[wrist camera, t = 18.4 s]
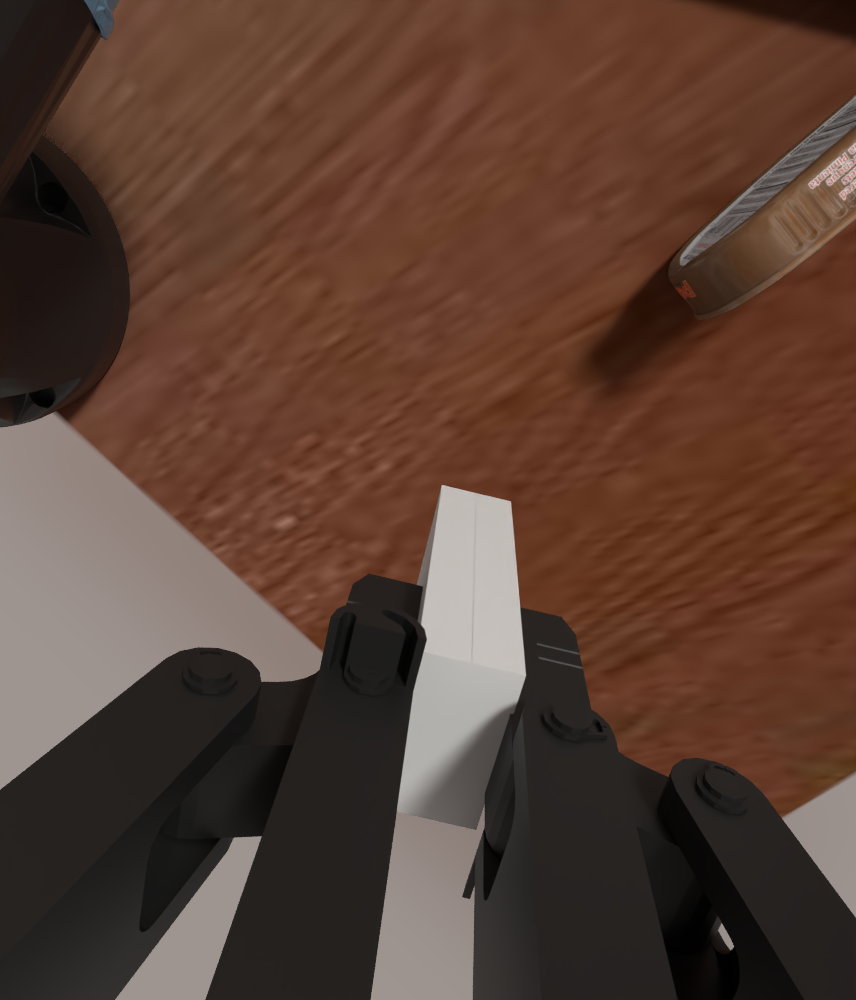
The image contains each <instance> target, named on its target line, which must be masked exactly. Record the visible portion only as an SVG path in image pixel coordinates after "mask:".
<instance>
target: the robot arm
mask: <svg viewBox="0 0 856 1000" xmlns="http://www.w3.org/2000/svg"><path fill="white" fill-rule="evenodd" d="M118 1H119V0H0V427H8V426H13V425H19V424H23V423H27V422H31V421H34V420H36V419H39V418H42V417H44V416H46V415H48V414H51V413H53V412H55V411H57V410H59V409H61V408H63V407H65V406H67V405H69V404H71V403H72V402H74V401H76V400H77V399H79V398H80V397H82V396H83V395H84V394H86V393H87V392H88V391H89V390H90V389H91V388H92V387H93V386H94V385H96V384H97V382H98V381H99V380H100V379H101V378H102V377H103V375H104V374H105V373H106V371H107V370H108V368H109V367H110V365H111V364H112V362H113V360H114V359H115V356H116V354H117V352H118V350H119V348H120V345H121V343H122V340H123V336H124V333H125V330H126V325H127V320H128V313H129V300H130V287H129V275H128V268H127V262H126V258H125V253H124V249H123V246H122V243H121V239H120V236H119V234H118V231H117V228H116V226H115V224H114V221H113V219H112V217H111V215H110V213H109V211H108V209H107V207H106V205H105V203H104V202H103V200H102V198H101V197H100V195H99V194H98V192H97V191H96V189H95V188H94V186H93V185H92V183H91V182H90V181H89V179H88V178H87V177H86V176H85V174H84V173H83V172H82V171H81V170H80V169H79V167H78V166H77V165H76V164H75V163H74V162H73V161H72V160H71V159H70V158H69V157H68V156H67V155H66V154H65V153H64V152H63V151H61V150H60V149H59V148H58V147H57V146H56V145H54V144H53V143H52V142H50V141H49V140H48V139H46V138H45V137H44V136H42V134H43V132H44V131H45V129H46V127H47V126H48V124H49V122H50V121H51V119H52V117H53V116H54V114H55V112H56V111H57V109H58V107H59V106H60V104H61V102H62V101H63V99H64V98H65V96H66V94H67V93H68V91H69V89H70V88H71V86H72V84H73V83H74V81H75V79H76V78H77V76H78V74H79V73H80V71H81V69H82V68H83V66H84V64H85V63H86V61H87V59H88V58H89V56H90V54H91V53H92V51H93V49H94V48H95V46H96V44H97V43H98V41H99V39H100V38H101V37H102V38H104V39H105V40H107V38H108V37H109V35H110V34H111V32H112V30H113V24H114V20H113V16H112V13H113V11H114V9H115V7H116V5H117V3H118ZM581 668H582V663H581V658H580V655H579V649H578V644H577V639H576V635H575V633H574V632H573V631H572V630H571V628H570V627H569V626H568V625H567V624H566V622H565V621H564V620H563V619H562V617H559V616H555V615H550V614H546V613H542V612H538V611H533V610H529V609H525V608H521V607H520V601H519V590H518V578H517V567H516V555H515V544H514V532H513V521H512V509H511V501H506V500H502V499H498V498H494V497H490V496H485V495H481V494H477V493H473V492H469V491H465V490H460V489H456V488H452V487H448V486H444V485H442V487H441V491H440V495H439V499H438V503H437V507H436V511H435V515H434V519H433V523H432V527H431V531H430V535H429V539H428V543H427V546H426V550H425V554H424V558H423V562H422V566H421V570H420V574H419V578H418V582H417V585H415V584H410V583H406V582H402V581H398V580H393V579H389V578H385V577H381V576H377V575H372V574H368V575H366V576H365V577H363V578H362V579H360V580H359V581H357V582H356V583H354V584H353V586H352V589H351V592H350V595H349V598H348V601H347V604H346V606H343V607H341V608H338V609H337V610H336V611H335V613H334V614H333V615H332V616H331V619H330V623H329V628H328V633H327V638H326V642H325V647H324V652H323V657H322V661H321V666H320V670H319V671H318V672H317V673H315V674H313V675H311V676H309V677H307V678H304V679H300V680H295V681H289V682H261V678H260V672H259V670H258V669H257V668H256V667H255V666H254V665H253V663H252V662H251V661H250V660H248V659H246V658H244V657H242V656H241V655H239V654H237V653H235V652H231V651H227V650H223V649H219V648H193V649H189V650H183V651H179V652H178V653H176V654H174V655H172V656H170V657H168V658H166V659H165V660H163V661H162V662H161V663H160V664H158V665H157V666H156V667H155V668H153V669H152V670H151V671H150V672H148V673H147V674H146V675H144V676H143V677H142V678H141V679H139V680H138V681H137V682H136V683H134V684H133V685H132V686H131V687H129V688H128V689H127V690H126V691H124V692H123V693H122V694H120V695H119V696H118V697H117V698H116V699H114V700H113V701H112V702H110V703H109V704H108V705H107V706H106V707H104V708H103V709H102V710H100V711H99V712H98V713H97V714H95V715H94V716H93V717H91V718H90V719H89V720H88V721H87V722H85V723H84V724H83V725H81V726H80V727H79V728H78V729H76V730H75V731H74V732H73V733H71V734H70V735H69V736H68V737H66V738H65V739H64V740H63V741H61V742H60V743H59V744H58V745H56V746H55V747H54V748H53V749H51V750H50V751H49V752H47V753H46V754H45V755H44V756H42V757H41V758H40V759H39V760H37V761H36V762H35V763H33V764H32V765H31V766H30V767H28V768H27V769H26V770H25V771H23V772H22V773H21V774H20V775H18V776H17V777H16V778H15V779H13V780H12V781H11V782H10V783H8V784H7V785H6V786H4V787H3V788H2V789H1V790H0V1000H115V999H116V998H117V996H118V995H119V993H120V992H121V991H122V990H123V988H124V987H125V986H126V984H127V983H128V982H129V980H130V979H131V978H132V976H133V975H134V974H135V972H136V971H137V970H138V968H139V967H140V966H141V965H142V963H143V962H144V961H145V959H146V958H147V957H148V955H149V954H150V953H151V951H152V950H153V949H154V947H155V946H156V945H157V943H158V942H159V941H160V939H161V938H162V937H163V935H164V934H165V933H166V932H167V930H168V929H169V928H170V926H171V925H172V923H173V922H174V921H175V920H176V918H177V917H178V916H179V914H180V913H181V912H182V910H183V909H184V908H185V906H186V905H187V904H188V902H189V901H190V900H191V898H192V897H193V896H194V894H195V893H196V892H197V891H198V889H199V888H200V887H201V885H202V884H203V883H204V881H205V880H206V879H207V877H208V876H209V875H210V873H211V871H213V869H214V868H215V867H216V865H217V864H218V863H219V861H220V860H221V859H222V857H223V856H224V855H225V853H226V852H227V851H228V849H229V847H230V844H231V842H232V840H233V838H234V837H252V836H262V838H261V841H260V843H259V846H258V849H257V852H256V855H255V858H254V861H253V864H252V867H251V870H250V872H249V875H248V878H247V881H246V884H245V887H244V890H243V893H242V896H241V898H240V901H239V904H238V907H237V910H236V913H235V916H234V919H233V922H232V925H231V927H230V930H229V933H228V936H227V939H226V942H225V945H224V948H223V951H222V954H221V956H220V959H219V962H218V965H217V968H216V971H215V974H214V977H213V979H212V982H211V985H210V988H209V991H208V994H207V997H206V1000H370V999H371V992H372V985H373V978H374V970H375V963H376V956H377V948H378V942H379V934H380V927H381V920H382V913H383V906H384V899H385V892H386V884H387V877H388V870H389V863H390V855H391V849H392V842H393V834H394V827H395V820H396V813H397V812H401V813H405V814H410V815H414V816H418V817H423V818H428V819H432V820H436V821H440V822H445V823H449V824H453V825H457V826H462V827H466V828H470V829H475V830H476V829H477V826H478V823H479V819H480V816H481V813H482V810H483V807H484V804H485V828H484V831H483V834H482V837H481V840H480V843H479V846H478V849H477V852H476V855H475V858H474V861H473V864H472V867H471V870H470V873H469V876H468V880H467V883H466V886H465V889H464V893H463V896H462V897H464V898H468V899H470V897H471V894H472V891H473V888H474V886H475V905H474V907H475V908H474V962H473V963H474V964H473V965H474V966H473V1000H856V918H855V916H854V915H853V914H852V912H851V911H850V910H849V908H848V907H847V905H846V904H845V903H844V901H843V900H842V899H841V898H840V896H839V895H838V893H837V892H836V891H835V889H834V888H833V887H832V885H831V884H830V883H829V881H828V880H827V879H826V877H825V876H824V875H823V873H822V872H821V871H820V869H819V868H818V866H817V865H816V864H815V863H814V861H813V860H812V858H811V857H810V856H809V854H808V853H807V852H806V850H805V849H804V848H803V846H802V845H801V844H800V842H799V841H798V840H797V838H796V837H795V836H794V834H793V833H792V832H791V830H790V829H789V828H788V826H787V825H786V824H785V822H784V821H783V819H782V818H781V817H780V815H779V814H778V813H777V811H776V810H775V809H774V807H773V806H772V805H771V803H770V802H769V801H768V799H767V798H766V797H765V795H764V794H763V793H762V792H761V791H760V790H759V789H758V788H757V787H756V786H755V785H754V784H753V783H752V782H751V781H749V780H748V779H746V778H745V777H744V776H742V775H741V774H739V773H738V772H737V771H735V770H734V769H732V768H730V767H728V766H724V765H723V764H720V763H717V762H714V761H709V760H705V759H700V758H692V759H683V760H681V761H680V762H678V763H677V764H675V765H674V766H673V768H672V770H671V773H670V775H669V777H667V776H665V775H663V774H660V773H658V772H656V771H654V770H651V769H649V768H647V767H645V766H643V765H640V764H638V763H637V762H635V761H633V760H631V759H629V758H627V757H625V756H624V755H623V754H621V753H620V752H618V747H617V743H616V739H615V736H614V734H613V732H612V730H611V728H610V726H609V724H608V723H607V722H606V721H605V720H604V719H603V718H602V717H601V716H600V715H599V714H598V713H596V712H595V711H593V710H591V706H590V701H589V696H588V692H587V687H586V682H585V677H584V673H583V669H581ZM721 923H722V924H723V926H724V927H725V929H726V931H727V933H728V934H729V936H730V938H731V940H732V942H733V945H734V948H733V949H732V950H731V951H730V949H729V948H728V947H727V945H726V944H725V943H724V941H723V939H722V937H721V935H720V933H719V932H718V929H719V927H720V925H721Z"/></svg>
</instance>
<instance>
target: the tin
mask: <svg viewBox="0 0 856 1000" xmlns="http://www.w3.org/2000/svg"><path fill="white" fill-rule="evenodd" d="M855 219H856V94H855V95H854V96H853V97H851V98H850V99H849V100H848V101H847V102H846V103H845V104H843V105H842V106H841V107H840V108H839V109H837V110H836V111H835V112H834V113H833V114H832V115H830V116H829V117H828V118H827V119H826V120H824V121H823V122H822V123H821V124H820V125H819V126H817V127H816V128H815V129H814V130H813V131H811V132H810V133H809V134H808V135H807V136H805V137H804V138H803V139H802V140H801V141H799V142H798V143H797V144H796V145H795V146H793V147H792V148H791V149H790V150H789V151H788V152H786V153H785V154H784V155H783V156H782V157H781V158H779V159H778V160H777V161H776V162H775V163H774V164H772V165H771V166H770V167H769V168H768V169H767V170H766V171H764V172H763V173H762V174H761V175H760V176H759V177H758V178H756V179H755V180H754V181H753V182H752V183H751V184H750V185H748V186H747V187H746V188H745V189H744V190H743V191H742V192H741V193H739V194H738V195H737V196H736V197H735V198H734V199H733V200H732V201H730V202H729V203H728V204H727V205H726V206H725V207H724V208H722V209H721V210H720V211H719V212H718V213H717V214H716V215H715V216H714V217H713V218H711V219H710V220H709V221H708V222H707V223H706V224H705V225H704V226H703V227H702V228H701V229H700V230H699V231H698V232H697V233H696V234H695V235H694V236H693V237H692V238H691V239H690V240H689V241H688V242H687V243H686V244H685V245H684V246H683V247H682V248H681V249H680V251H679V252H678V253H677V254H676V256H675V257H674V258H673V260H672V261H671V263H670V266H669V269H668V276H669V280H670V282H671V283H672V285H673V286H674V287H675V289H676V290H677V291H678V292H679V294H680V295H681V296H682V297H683V298H684V299H685V301H686V302H687V303H688V304H689V305H690V307H691V308H692V309H693V314H694V316H695V317H696V318H697V319H699V320H704V319H709V318H712V317H716V316H718V315H720V314H722V313H725V312H727V311H729V310H731V309H733V308H735V307H737V306H739V305H740V304H742V303H744V302H745V301H747V300H749V299H750V298H752V297H753V296H755V295H756V294H758V293H760V292H761V291H763V290H764V289H766V288H767V287H769V286H770V285H772V284H773V283H775V282H776V281H778V280H779V279H781V278H782V277H783V276H784V275H786V274H788V273H789V272H790V271H791V270H793V269H794V268H795V267H797V266H798V265H799V264H800V263H802V262H803V261H804V260H806V259H807V258H808V257H810V256H811V255H812V254H813V253H815V252H816V251H817V250H818V249H820V248H821V247H822V246H823V245H824V244H826V243H827V242H828V241H829V240H831V239H832V238H833V237H834V236H836V235H837V234H838V233H839V232H841V231H842V230H843V229H844V228H845V227H846V226H848V225H849V224H850V223H852V222H853V221H854V220H855Z"/></svg>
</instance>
